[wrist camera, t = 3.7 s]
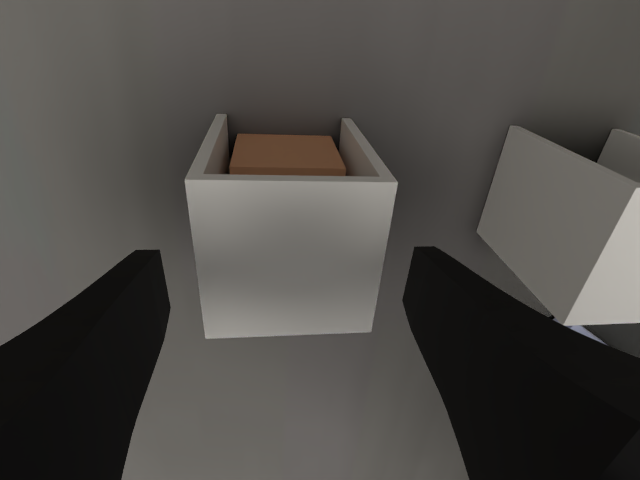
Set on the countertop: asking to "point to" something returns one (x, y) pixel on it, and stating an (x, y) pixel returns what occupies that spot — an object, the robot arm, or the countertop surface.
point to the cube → (286, 155)
